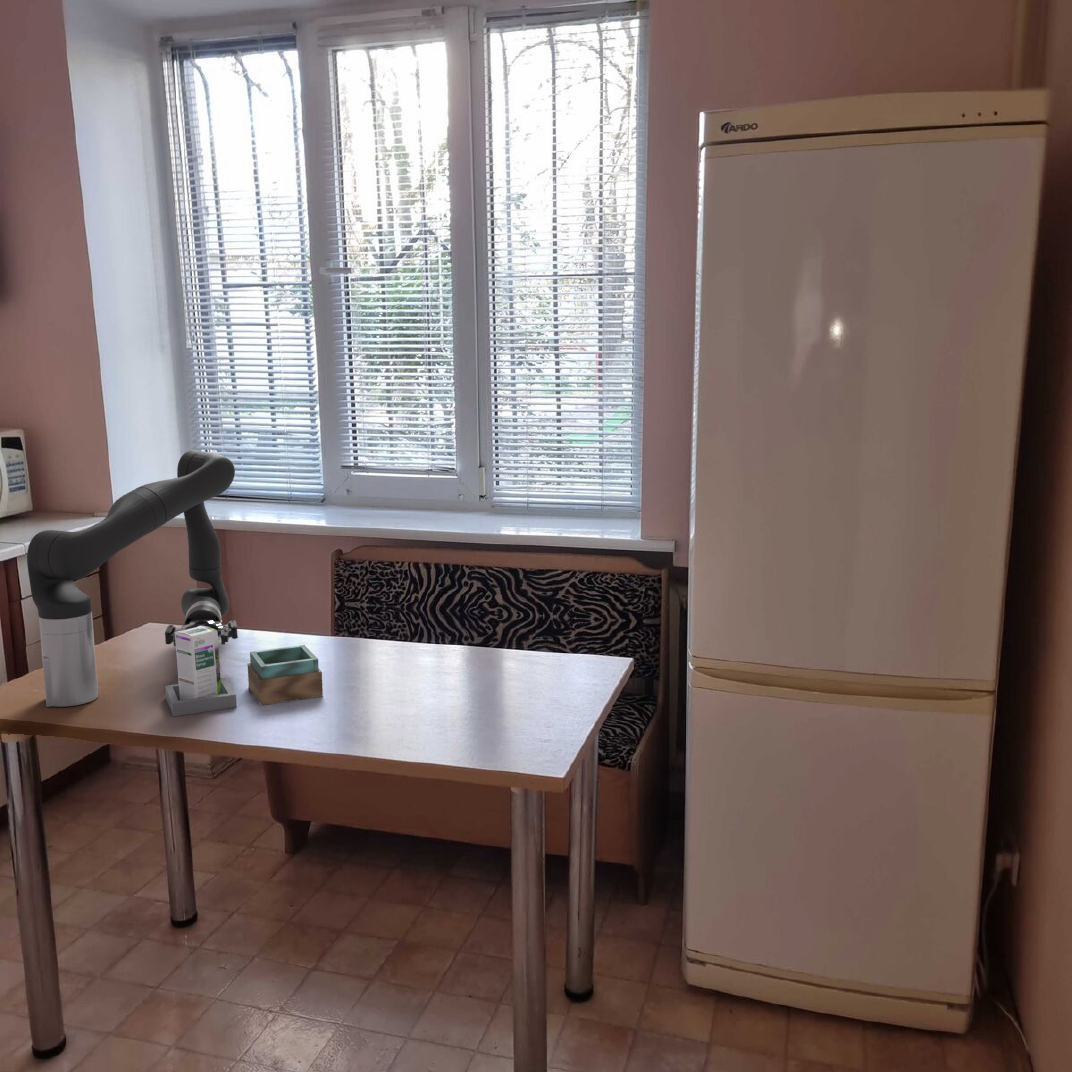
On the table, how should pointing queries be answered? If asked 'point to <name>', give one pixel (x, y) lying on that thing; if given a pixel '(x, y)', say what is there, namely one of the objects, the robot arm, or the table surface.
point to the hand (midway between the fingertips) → (200, 641)
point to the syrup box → (198, 662)
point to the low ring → (200, 700)
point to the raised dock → (284, 675)
